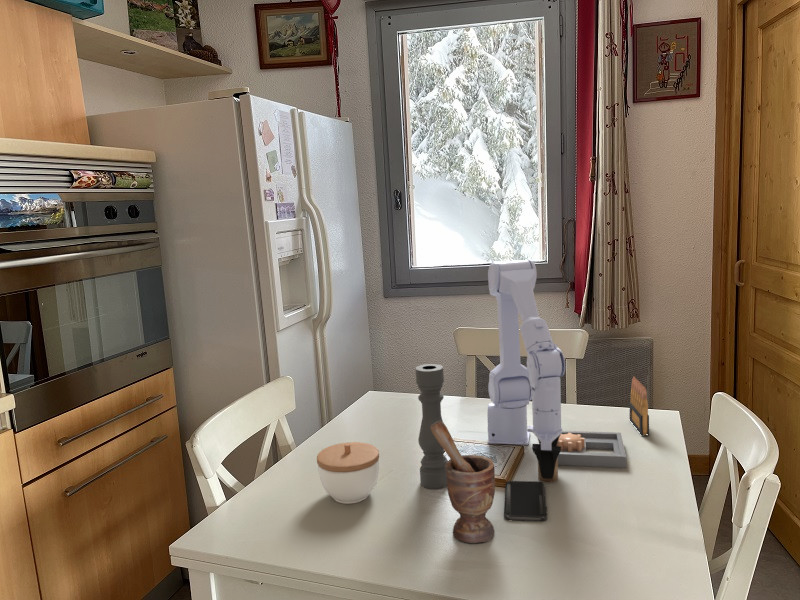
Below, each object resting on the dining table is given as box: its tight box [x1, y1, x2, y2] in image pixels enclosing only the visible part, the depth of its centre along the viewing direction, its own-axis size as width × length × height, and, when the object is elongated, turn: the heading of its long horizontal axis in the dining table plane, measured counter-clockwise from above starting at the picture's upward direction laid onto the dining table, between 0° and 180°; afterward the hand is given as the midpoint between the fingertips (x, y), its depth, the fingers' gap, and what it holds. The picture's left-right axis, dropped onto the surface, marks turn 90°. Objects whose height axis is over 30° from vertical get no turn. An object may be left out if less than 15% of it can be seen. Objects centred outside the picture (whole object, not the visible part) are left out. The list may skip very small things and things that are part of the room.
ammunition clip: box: [628, 375, 650, 436], centre depth 159 cm, size 11×2×12 cm, turn 175°
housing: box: [557, 430, 627, 469], centre depth 147 cm, size 16×14×4 cm
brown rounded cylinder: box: [537, 457, 559, 484], centre depth 135 cm, size 4×4×6 cm
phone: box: [503, 480, 548, 523], centre depth 126 cm, size 8×1×15 cm
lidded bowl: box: [316, 441, 380, 505], centre depth 132 cm, size 13×13×11 cm
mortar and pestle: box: [430, 420, 496, 544], centre depth 115 cm, size 12×9×20 cm
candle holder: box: [415, 363, 449, 490], centre depth 135 cm, size 6×6×25 cm
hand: (548, 469), depth 135 cm, fingers open, 7 cm apart
